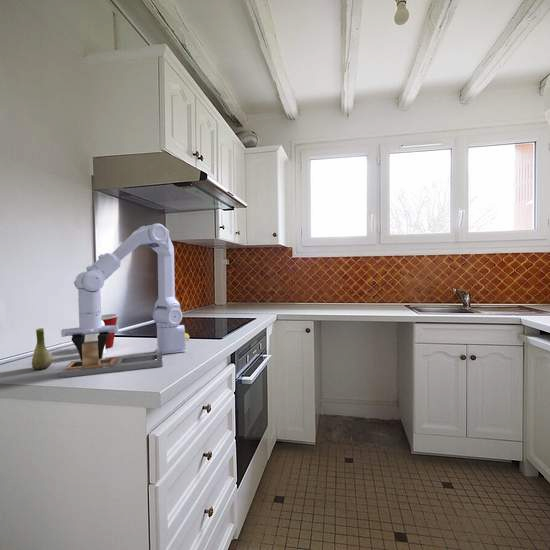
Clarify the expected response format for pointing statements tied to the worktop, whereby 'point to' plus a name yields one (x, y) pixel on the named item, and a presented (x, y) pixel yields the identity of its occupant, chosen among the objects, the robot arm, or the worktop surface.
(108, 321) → the plastic cup
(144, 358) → the rail plate
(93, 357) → the oak peg
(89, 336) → the can
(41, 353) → the fennel bulb
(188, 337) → the bread roll
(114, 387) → the worktop surface
